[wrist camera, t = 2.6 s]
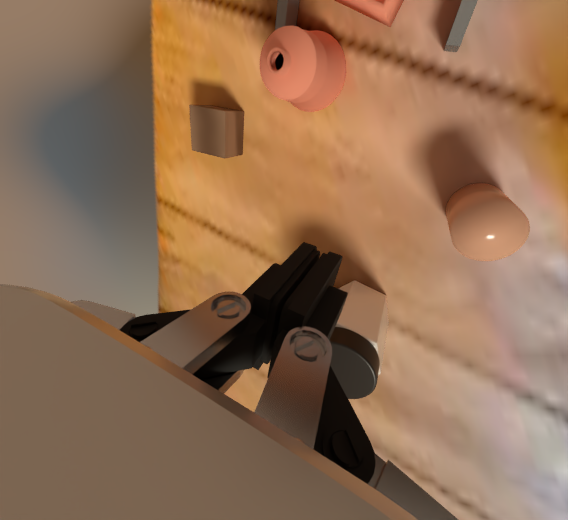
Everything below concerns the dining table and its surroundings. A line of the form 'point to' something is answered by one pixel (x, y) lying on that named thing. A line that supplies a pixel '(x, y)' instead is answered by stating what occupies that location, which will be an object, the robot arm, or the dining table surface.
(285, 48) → the pottery
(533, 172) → the dining table surface
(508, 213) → the beige rounded cylinder
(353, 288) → the jar
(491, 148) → the dining table surface
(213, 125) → the metal block
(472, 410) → the dining table surface
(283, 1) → the corral
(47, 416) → the robot arm
